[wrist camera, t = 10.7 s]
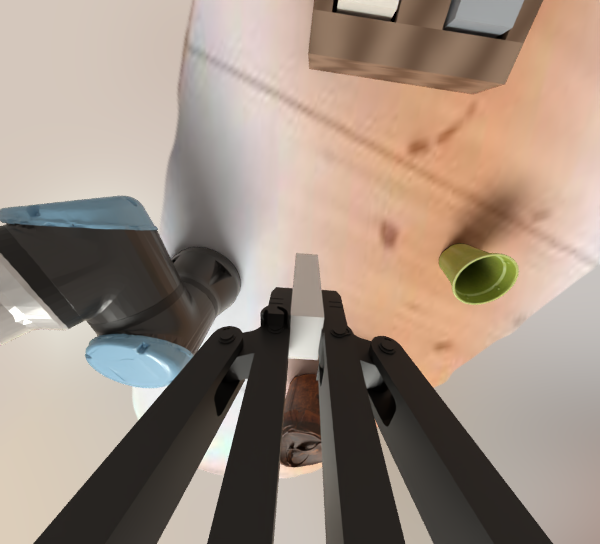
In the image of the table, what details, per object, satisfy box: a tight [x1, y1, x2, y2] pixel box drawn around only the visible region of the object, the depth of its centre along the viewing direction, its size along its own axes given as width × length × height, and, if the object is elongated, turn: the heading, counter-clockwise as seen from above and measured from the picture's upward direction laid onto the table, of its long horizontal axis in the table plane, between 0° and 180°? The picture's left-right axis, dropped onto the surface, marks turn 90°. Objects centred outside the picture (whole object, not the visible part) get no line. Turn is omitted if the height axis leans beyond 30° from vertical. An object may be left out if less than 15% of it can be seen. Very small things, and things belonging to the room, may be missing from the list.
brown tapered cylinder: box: [280, 374, 322, 467], centre depth 58 cm, size 18×20×18 cm
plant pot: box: [439, 244, 519, 305], centre depth 40 cm, size 9×9×9 cm
